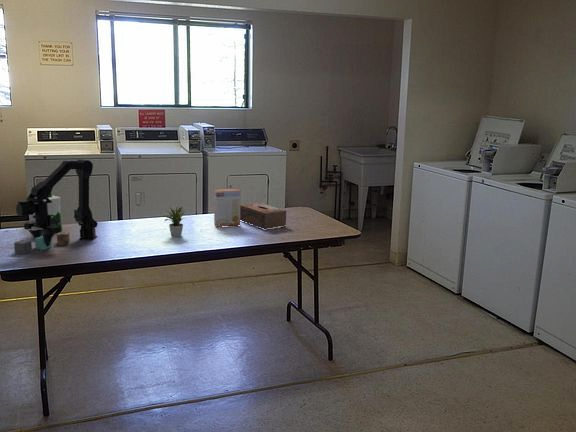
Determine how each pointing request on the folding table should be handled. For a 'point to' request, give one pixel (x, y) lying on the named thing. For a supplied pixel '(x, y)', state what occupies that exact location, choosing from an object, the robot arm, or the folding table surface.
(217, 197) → the cracker box
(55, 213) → the milk carton
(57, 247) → the folding table surface
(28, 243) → the charcoal block
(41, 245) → the teal block
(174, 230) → the house plant
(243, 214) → the tissue box cover
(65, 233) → the walnut block
